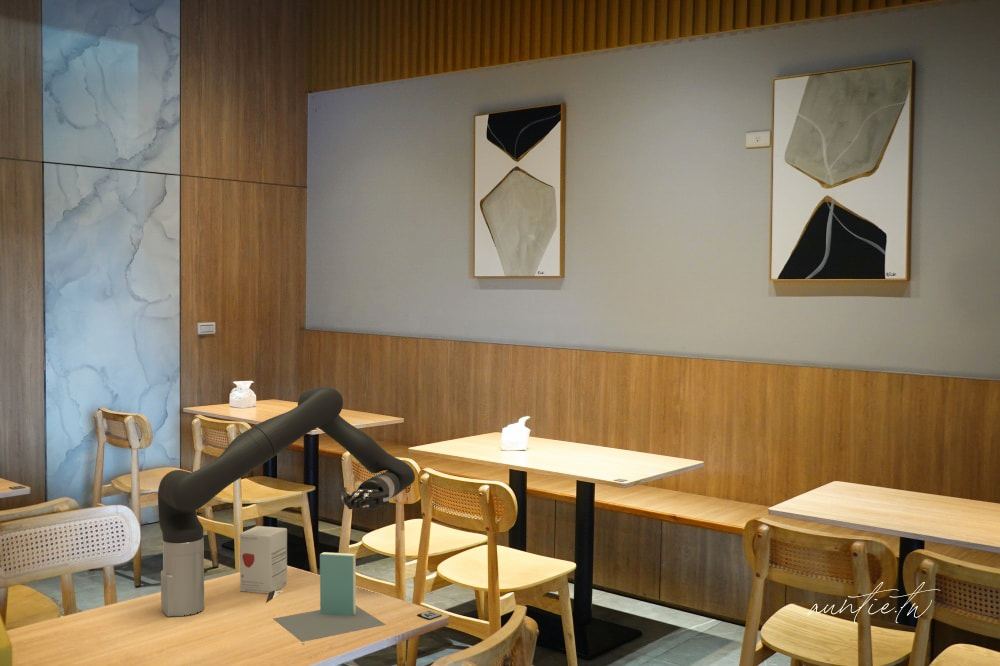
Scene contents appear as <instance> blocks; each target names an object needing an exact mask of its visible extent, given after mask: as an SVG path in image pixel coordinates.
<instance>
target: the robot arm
mask: <svg viewBox="0 0 1000 666" xmlns="http://www.w3.org/2000/svg"><path fill="white" fill-rule="evenodd" d="M343 406H344V398H343V396H342V394H341V393H340V392H339V391H338V390H337V389H336V388H333V387H330V386H329V387H328V386H320V387H314V388H310V389H309V388H308V389H306V390H305V391H303V392H302V393H301V394H300V396H299V397H298V399H297V406H295V407H294V408H292V409H290V410H289V411H286V412H284V413H281V414H278V415H276V416H273V417H270V418H269V419H266V420H264V421H261V422H259V423H257V424H255V425H253V426H252V427H250V428H249V429H246V430H245V431H244V432H242V433H240V434H239V435H237V436H236V437H234V439H233V440H231V442H230V443H229V444H228V445H227V446H226V448H225V449H224V451H223V452H222V453H221V454H220V455H219V456H218V457H217V458H216V459H214V460H213V461H211V462H210V463H208V464H207V465H205V466H203V467H200V468H198V469H197V470H194V471H192V472H190V471H187V470H184V469H183V470H182V469H175V470H174V469H173V470H171V471H169V472H166V474H165V475H164V476H163V477H162V478H161V479H160V482H159V485H158V490H157V504H158V505H157V508H158V521H159V522H158V523H159V528H160V530H161V534H162V570H161V571H160V602H161V603H160V605H161V606H160V607H161V611H162V612H163V613H164V614H165V616H166V617H183V616H184V615H185V616H191V615H195V614H197V612H198V613H200V611H201V612H202V611H204V609H205V557H204V556H205V555H204V554H205V553H204V550H205V549H204V547H205V545H204V544H205V543H204V526H203V524H202V523H201V522H200V519H199V518H198V517H199V516H198V514H197V511H198V510H199V509H201V508H202V507H204V506H205V505H206V504H208V503H209V502H210V501H212V500H213V499H214V498H215V497H216V496H218V495H219V494H220V493H221V492H222V491H223V490H225V489H226V488H227V487H229V486H230V485H232V484H233V483H235V482H236V481H238V480H240V479H241V478H244V477H245V475H247V474H249V473H251V472H252V471H254V470H256V469H257V468H258V467H260V466H262V465H263V464H265V463H266V462H268V461H269V460H271V459H273V458H274V457H276V456H277V455H278V454H280V453H281V452H283V451H284V450H285V449H287V448H288V447H290V446H291V445H293V444H294V443H295V442H297V441H298V440H300V439H301V438H302V437H304V436H305V435H306V434H309V433H310V432H311V431H314V430H316V429H318V430H320V431H321V432H323V433H325V434H326V435H327V436H329V437H330V438H331V439H332V440H334V441H335V442H336V443H338V444H339V446H341V447H342V448H343V449H344V450H346V451H347V452H348V453H349V454H350V455H351V456H352V458H355V460H356V461H357V462H358V463H359V464H361V466H362V467H364V468H365V470H367V471H368V472H369V473H370V474H378V475H373V476H372V477H370V478H367V479H366V480H364V481H363V482H361V484H359V486H358V488H357V489H356V490H354V491H352V492H351V493H350V492H347V491H341V503H342V504H344V505H345V507H346V508H348V510H353V509H354V510H357V511H358V510H359V509H361V508H366V509H367V510H368V509H369V510H374V509H378V508H379V507H381V506H383V505H390V499H393V498H394V497H396V496H397V495H399V494H400V493H401V492H402V491H404V490H405V489H408V488H409V487H410V486H411V485H412V484H413V483H414V482H415V479H416V476H415V475H416V474H415V471H414V469H413V467H412V466H410V465H409V464H408V463H407V462H405V461H403V460H401V459H400V458H397V457H396V456H394V455H392V454H390V453H388V452H387V451H386V450H385V449H383V447H381V446H380V444H378V442H377V441H376V440H374V439H373V438H372V437H371V436H370V435H368V434H367V433H365V432H364V431H362V430H360V429H359V428H357V427H355V426H354V425H352V424H351V423H349V421H347V420H345V419H344V418H343V417H342V416H341V415H340V414H341V412H342V410H343ZM190 614H191V615H190Z"/></svg>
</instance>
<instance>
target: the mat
mask: <svg viewBox="0 0 1000 666" xmlns="http://www.w3.org/2000/svg"><path fill="white" fill-rule="evenodd" d="M272 620H274V621H275V622H276V623H278V624H279V625H280V626H282V628H284V629H285V630H286V631H288V632H289V633H290V634H291V635H293V637H295V638H296V639H298V640H299V641H300V642H301V643H305V642H307V641H308V642H309V641H313V640H319V639H324V638H328V637H333V636H338V635H343V634H347V633H351V632H352V633H353V632H359V631H362V630H366V629H371V628H372V629H373V628H376V627H382V626H386V625H387V624H386V623H385V622H382V621H381V620H380V619H378V618H377V617H375V616H374V615H372V614H370V613H369V612H367V611H366V610H364V609H362V608H361V607H359V606H358V605H356V614H355V615H353V616H344V615H330V614H320V609H317V610H316V609H315V610H310V611H307V612H302V613H296V614H289V615H285V616H279V617H275V618H272Z"/></svg>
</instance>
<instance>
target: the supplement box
mask: <svg viewBox="0 0 1000 666" xmlns="http://www.w3.org/2000/svg"><path fill="white" fill-rule="evenodd" d="M239 562H240V563H239V568H240V570H239V572H240V573H239V576H240V577H239V578H240V579H239V584H240V587H239V588H240V590H239V591H240V592H245V591H247V593H255V592H257V593H256V594H265V593H267V594H268V595H269V592H272V591H276V590H277V591H279V590H280V589H282V588H283V587H285V586H287V585H288V529H287V528H286V527H275V526H262V525H256V526H254V527H252V528H249V529H247V530H245V531H243V532H241V533H239Z"/></svg>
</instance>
